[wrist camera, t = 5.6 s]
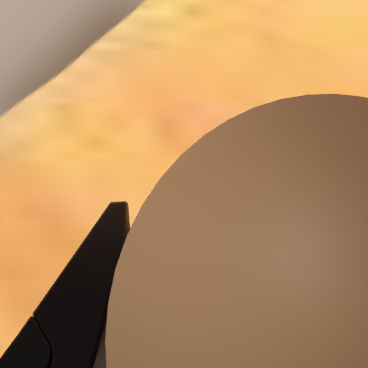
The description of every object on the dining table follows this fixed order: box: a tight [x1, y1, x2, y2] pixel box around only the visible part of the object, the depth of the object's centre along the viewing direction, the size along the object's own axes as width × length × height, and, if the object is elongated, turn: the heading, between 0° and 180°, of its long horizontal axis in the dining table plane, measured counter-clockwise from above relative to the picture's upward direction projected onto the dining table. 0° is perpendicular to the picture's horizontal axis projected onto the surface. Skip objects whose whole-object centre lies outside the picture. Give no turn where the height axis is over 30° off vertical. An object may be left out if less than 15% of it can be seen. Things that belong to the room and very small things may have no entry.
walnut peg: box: [105, 94, 368, 368], centre depth 9 cm, size 4×4×12 cm
